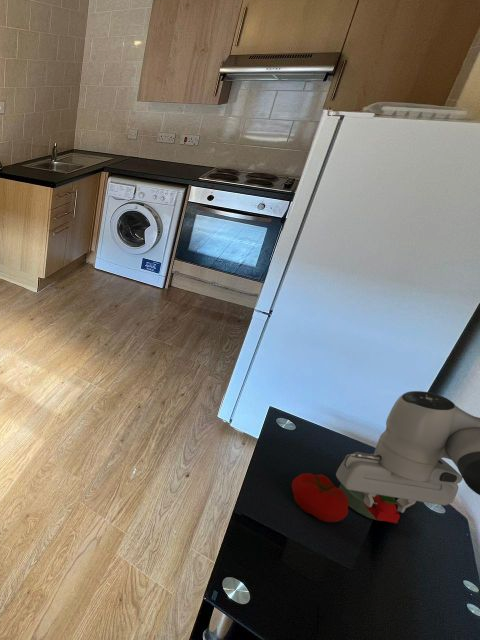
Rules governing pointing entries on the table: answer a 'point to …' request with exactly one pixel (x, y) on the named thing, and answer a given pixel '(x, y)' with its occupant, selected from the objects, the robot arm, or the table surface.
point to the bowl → (357, 501)
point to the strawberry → (385, 509)
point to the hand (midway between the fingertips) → (383, 507)
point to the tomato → (320, 497)
